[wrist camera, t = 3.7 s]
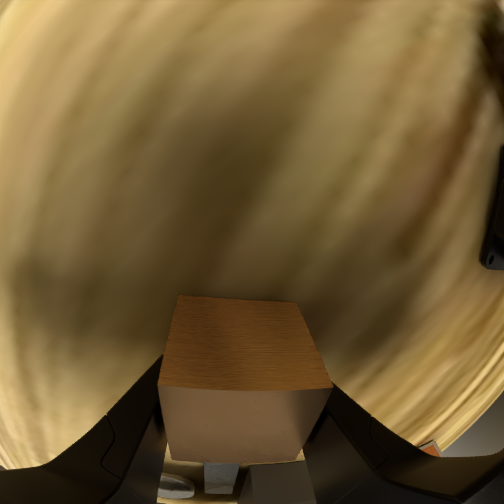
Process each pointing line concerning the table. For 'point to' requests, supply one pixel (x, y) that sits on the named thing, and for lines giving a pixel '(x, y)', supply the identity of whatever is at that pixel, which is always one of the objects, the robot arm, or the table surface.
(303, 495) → the cabinet
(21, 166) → the table surface
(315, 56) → the table surface
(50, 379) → the table surface
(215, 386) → the brown block with rod
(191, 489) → the token
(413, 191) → the table surface
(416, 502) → the robot arm
